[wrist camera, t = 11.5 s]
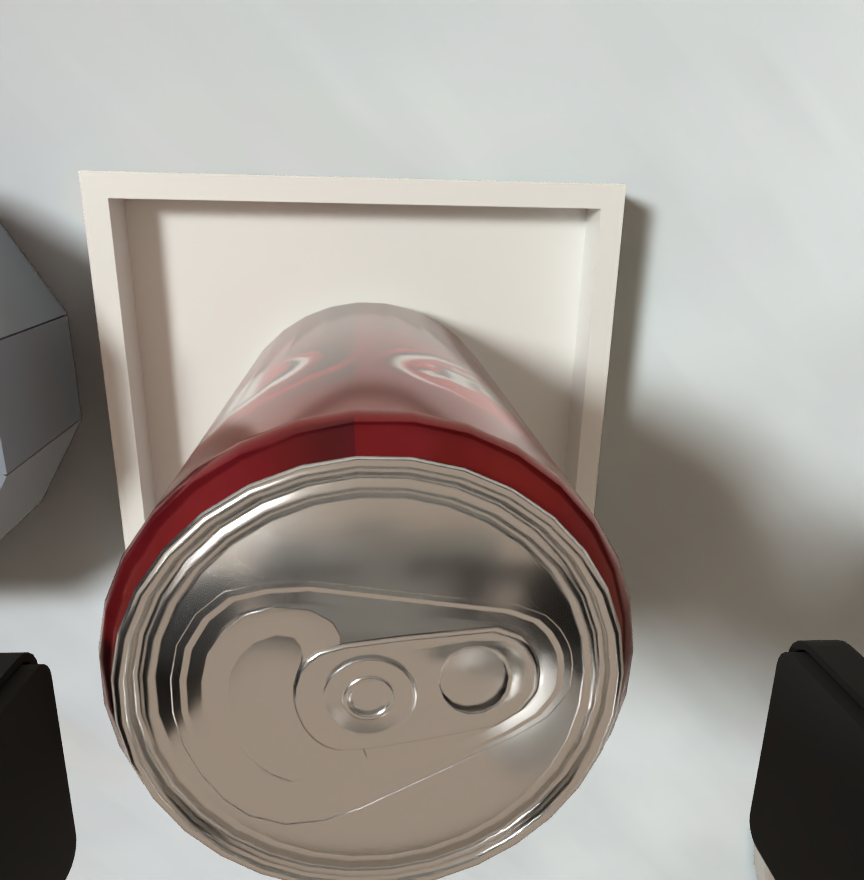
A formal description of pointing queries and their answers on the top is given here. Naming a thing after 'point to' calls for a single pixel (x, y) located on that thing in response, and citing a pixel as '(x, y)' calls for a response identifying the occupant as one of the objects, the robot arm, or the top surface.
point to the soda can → (366, 615)
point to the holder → (31, 386)
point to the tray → (343, 295)
